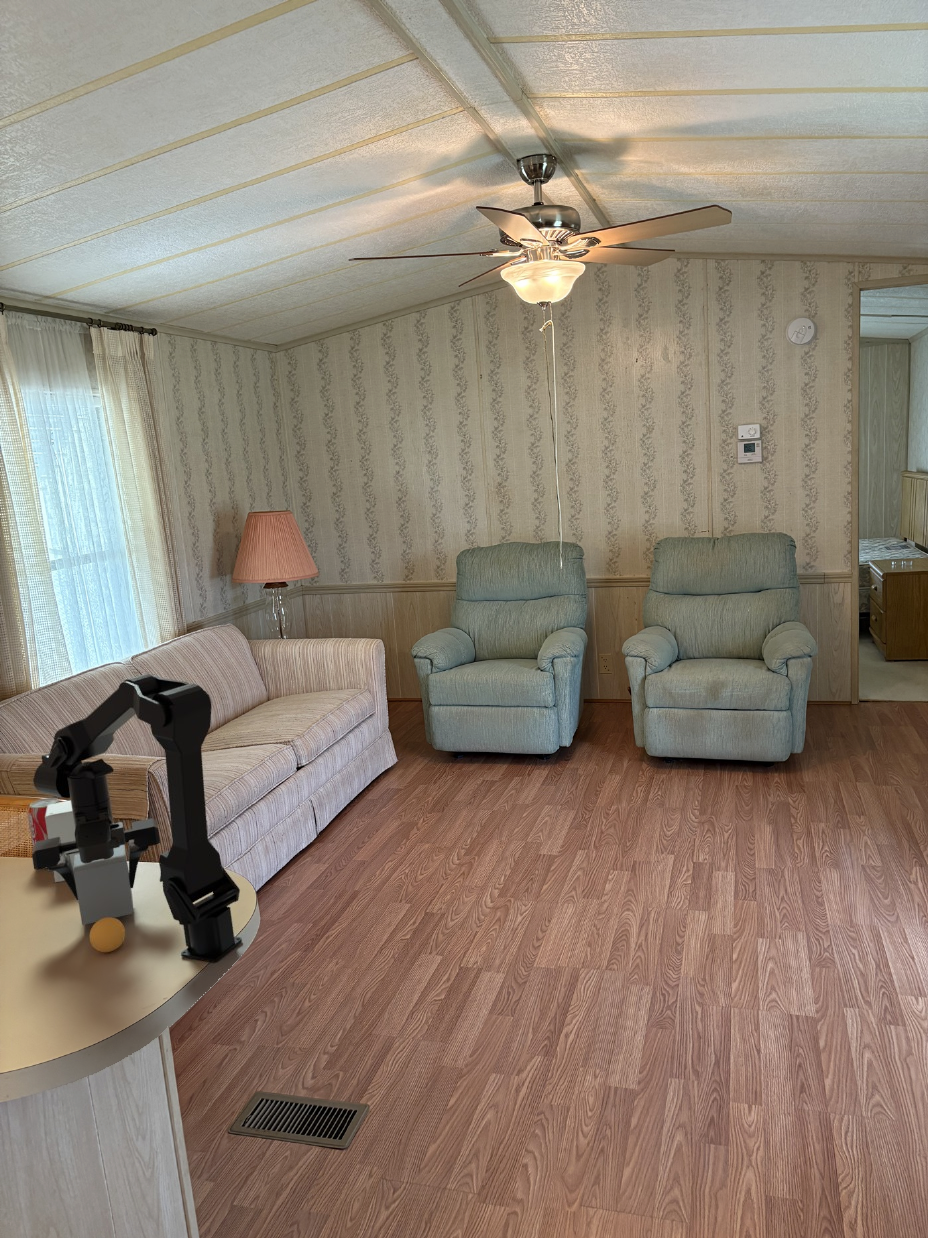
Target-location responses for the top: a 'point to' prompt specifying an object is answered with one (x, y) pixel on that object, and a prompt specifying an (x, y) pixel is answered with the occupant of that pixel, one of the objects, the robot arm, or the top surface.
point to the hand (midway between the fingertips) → (105, 893)
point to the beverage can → (39, 819)
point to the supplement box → (61, 827)
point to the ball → (107, 934)
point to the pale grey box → (103, 887)
